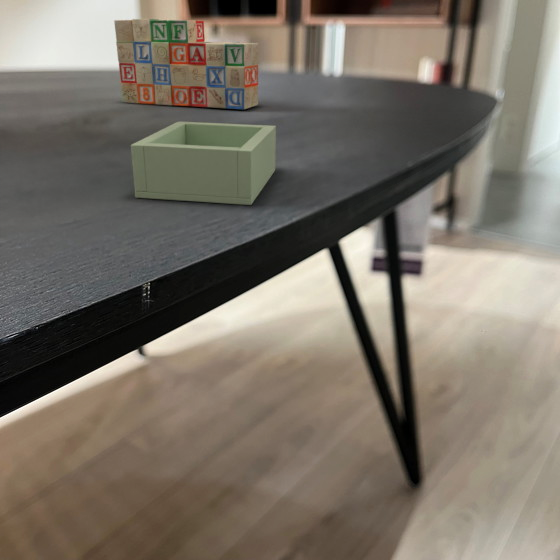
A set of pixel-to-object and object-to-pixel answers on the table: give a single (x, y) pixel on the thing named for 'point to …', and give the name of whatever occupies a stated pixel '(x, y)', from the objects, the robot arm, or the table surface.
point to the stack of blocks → (184, 65)
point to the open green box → (205, 162)
